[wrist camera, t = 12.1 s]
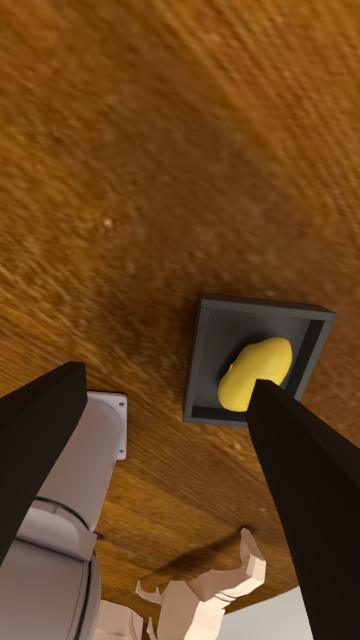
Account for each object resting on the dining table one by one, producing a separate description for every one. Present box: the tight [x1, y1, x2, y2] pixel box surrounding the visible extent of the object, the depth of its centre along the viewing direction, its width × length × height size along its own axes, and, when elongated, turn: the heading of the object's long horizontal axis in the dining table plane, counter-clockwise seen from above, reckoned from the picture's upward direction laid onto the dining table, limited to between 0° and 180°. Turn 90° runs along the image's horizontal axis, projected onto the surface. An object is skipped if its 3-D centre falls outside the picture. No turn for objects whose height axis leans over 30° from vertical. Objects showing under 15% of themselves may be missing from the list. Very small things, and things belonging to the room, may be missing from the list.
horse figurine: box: [127, 528, 266, 640], centre depth 29 cm, size 5×16×25 cm
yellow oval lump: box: [218, 337, 292, 412], centre depth 16 cm, size 4×8×4 cm, turn 143°
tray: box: [183, 293, 337, 428], centre depth 18 cm, size 12×10×2 cm
